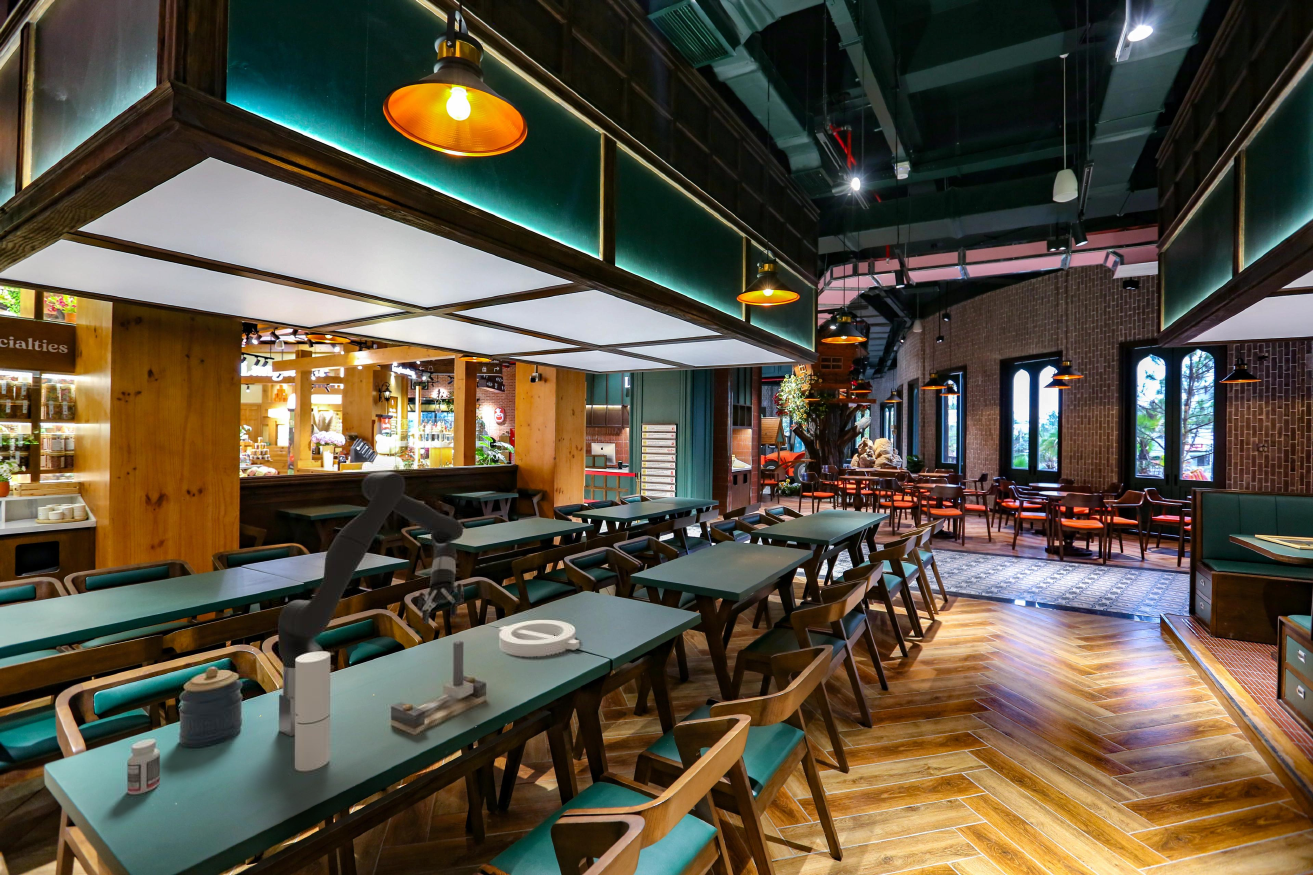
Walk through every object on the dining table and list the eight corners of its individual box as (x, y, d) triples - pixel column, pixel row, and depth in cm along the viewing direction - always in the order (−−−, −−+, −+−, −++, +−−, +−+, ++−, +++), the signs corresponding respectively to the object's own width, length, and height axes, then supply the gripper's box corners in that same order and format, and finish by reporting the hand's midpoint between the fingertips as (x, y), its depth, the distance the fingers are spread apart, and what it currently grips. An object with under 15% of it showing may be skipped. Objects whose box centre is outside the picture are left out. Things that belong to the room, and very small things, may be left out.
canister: (252, 721, 158) (252, 656, 158) (224, 746, 145) (225, 675, 145) (199, 725, 156) (199, 659, 156) (166, 750, 143) (166, 678, 143)
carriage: (459, 698, 165) (459, 647, 165) (443, 693, 169) (443, 642, 169) (473, 692, 169) (473, 642, 169) (457, 686, 173) (457, 638, 173)
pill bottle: (157, 777, 131) (158, 734, 132) (161, 787, 128) (161, 742, 128) (125, 788, 128) (126, 743, 128) (128, 798, 124) (128, 752, 124)
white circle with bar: (497, 635, 229) (497, 623, 229) (568, 629, 237) (569, 617, 238) (501, 661, 202) (501, 647, 202) (581, 652, 211) (581, 639, 211)
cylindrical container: (322, 751, 143) (323, 649, 143) (334, 761, 138) (335, 655, 139) (290, 763, 137) (290, 657, 138) (301, 774, 133) (302, 664, 133)
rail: (414, 734, 151) (414, 712, 151) (390, 724, 156) (391, 703, 156) (486, 699, 171) (486, 680, 171) (463, 691, 177) (463, 673, 177)
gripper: (416, 573, 189) (411, 619, 178) (459, 563, 189) (456, 608, 178) (427, 584, 195) (422, 629, 184) (468, 574, 195) (466, 619, 184)
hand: (439, 619), depth 181 cm, fingers open, 8 cm apart
